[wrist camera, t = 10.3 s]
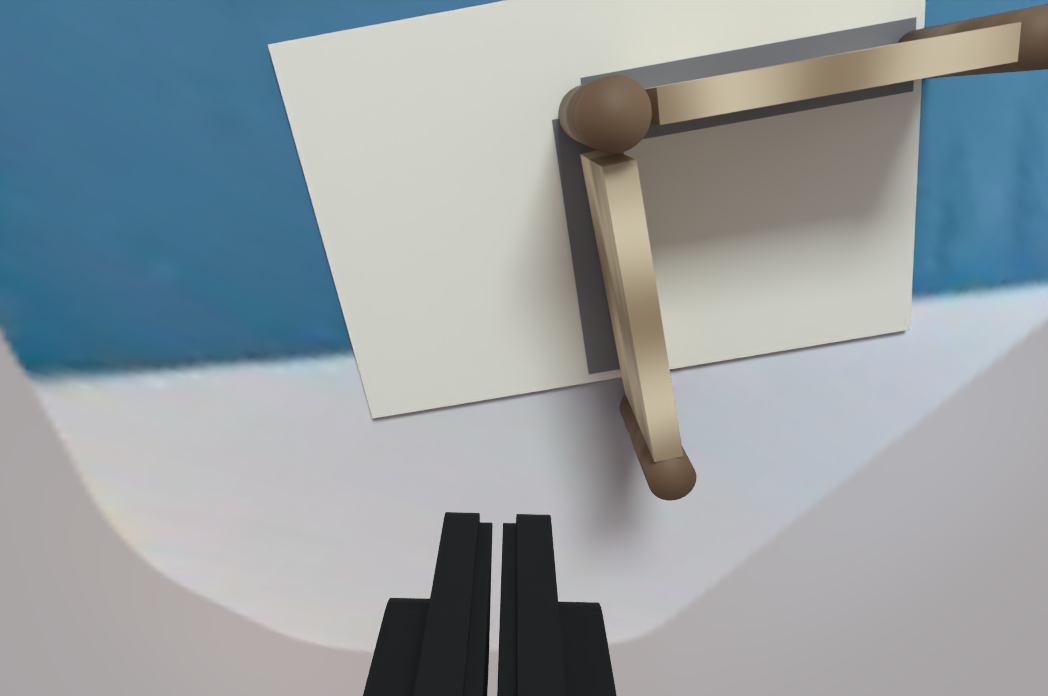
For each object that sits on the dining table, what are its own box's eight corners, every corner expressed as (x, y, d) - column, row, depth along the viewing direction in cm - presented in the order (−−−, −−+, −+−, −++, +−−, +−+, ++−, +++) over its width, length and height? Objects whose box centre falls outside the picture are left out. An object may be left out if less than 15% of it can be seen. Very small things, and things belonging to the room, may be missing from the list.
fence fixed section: (933, 21, 28) (1108, -15, 20) (931, 80, 29) (1097, 68, 21) (554, 90, 28) (573, 82, 20) (561, 146, 29) (583, 159, 21)
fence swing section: (571, 156, 29) (591, 169, 22) (615, 145, 29) (647, 156, 22) (623, 427, 34) (652, 504, 27) (660, 419, 33) (699, 494, 27)
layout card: (924, -76, 27) (930, -79, 26) (906, 327, 33) (910, 330, 33) (270, 45, 28) (266, 44, 27) (373, 415, 34) (372, 419, 33)
